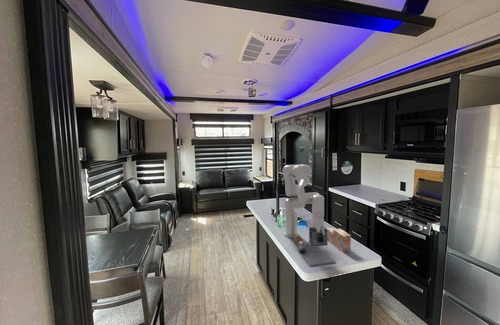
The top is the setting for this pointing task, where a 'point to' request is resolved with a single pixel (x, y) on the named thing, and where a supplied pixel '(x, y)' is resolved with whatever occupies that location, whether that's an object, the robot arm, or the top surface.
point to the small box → (314, 237)
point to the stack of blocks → (339, 239)
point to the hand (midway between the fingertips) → (318, 239)
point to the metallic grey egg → (302, 246)
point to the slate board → (318, 258)
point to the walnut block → (297, 240)
